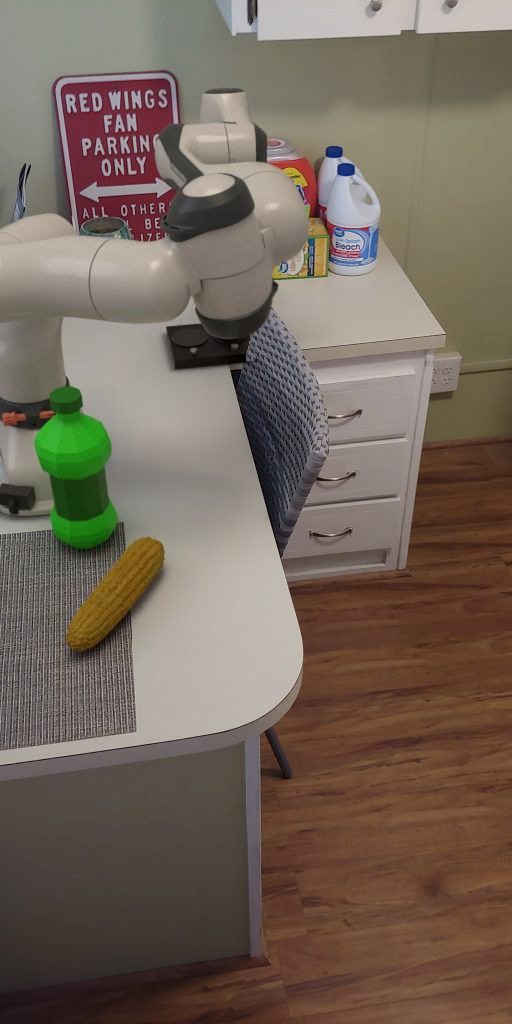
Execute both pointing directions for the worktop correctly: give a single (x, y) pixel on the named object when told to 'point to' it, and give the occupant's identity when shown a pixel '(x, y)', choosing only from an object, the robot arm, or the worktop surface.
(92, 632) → the food
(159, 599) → the worktop surface
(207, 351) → the hot plate
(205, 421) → the worktop surface
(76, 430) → the plastic bottle
